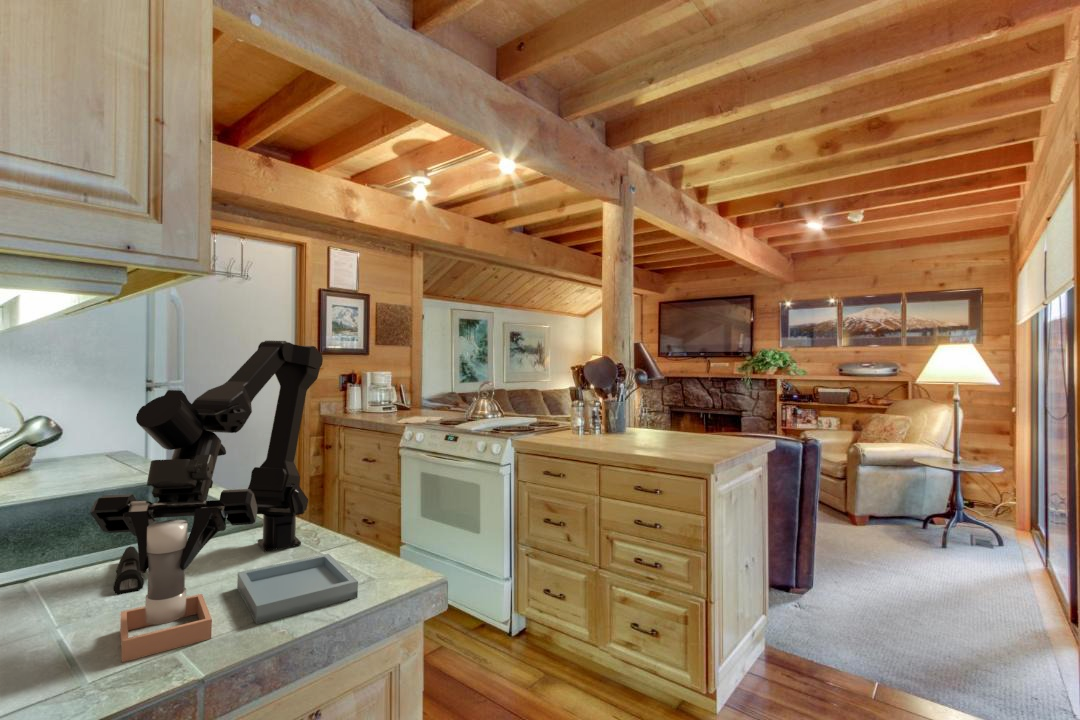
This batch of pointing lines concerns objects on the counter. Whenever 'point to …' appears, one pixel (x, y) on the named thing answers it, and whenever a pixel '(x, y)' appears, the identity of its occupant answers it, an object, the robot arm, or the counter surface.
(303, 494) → the robot arm
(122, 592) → the electric trimmer
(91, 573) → the counter surface
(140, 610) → the socket ring
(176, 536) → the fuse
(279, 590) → the parts tray
